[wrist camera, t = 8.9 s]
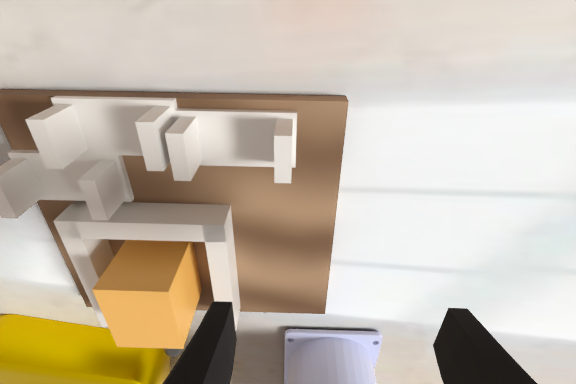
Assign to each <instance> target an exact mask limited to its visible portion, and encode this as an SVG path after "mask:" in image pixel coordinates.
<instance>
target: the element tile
mask: <svg viewBox="0 0 576 384" xmlns="http://www.w3.org/2000/svg"><path fill="white" fill-rule="evenodd" d="M170 359H171V357H170V356H168V355H166V353H165V352H164V349H163V348H136V347H117V345H116V343H115V341H114V338H113V336H112V334H111V332H110V329H107V328H100V327H94V326H88V325H81V324H75V323H68V322H62V321H55V320H49V319H42V318H36V317H29V316H23V315H16V314H5V315H0V384H162V383H163V382H164V381H165V379H166V378H167V376H168V375H169V373H170Z"/></svg>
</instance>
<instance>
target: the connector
mask: <svg viewBox="0 0 576 384" xmlns="http://www.w3.org/2000/svg"><path fill="white" fill-rule="evenodd" d="M92 291H93V293H94V295H95V298H96V300H97V302H98V304H99V307H100V309H101V311H102V313H103V316H104V318H105V320H106V323H107V325H108V327H109V329H110V332H111V334H112V336H113V338H114V341H115V343H116V345H117V347H136V348H163V349H164V352H165V353H166V355H168V356H170V357H175V356H178V355H179V354H180V353H181V352H182V351H183V348H184V345H185V342H186V339H187V336H188V332H189V329H190V326H191V323H192V320H193V317H194V313H195V310H196V307H197V304H198V301H199V298H200V295H201V291H202V288H201V283H200V277H199V272H198V266H197V261H196V255H195V250H194V244H193V242H192V241H154V240H126V241H125V242H124V244H123V245H122V247H121V248H120V249H119V251H118V252H117V254H116V255H115V257H114V258H113V260H112V261H111V263H110V264H109V266H108V267H107V269H106V270H105V271H104V273H103V274H102V276H101V277H100V279H99V280H98V282H97V283H96V285H95V286H94V288H93V289H92Z"/></svg>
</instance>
